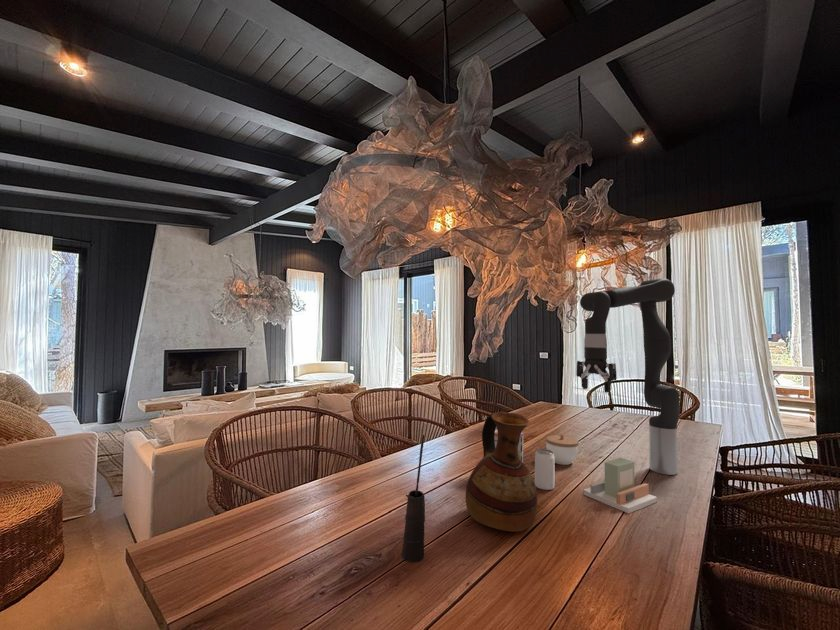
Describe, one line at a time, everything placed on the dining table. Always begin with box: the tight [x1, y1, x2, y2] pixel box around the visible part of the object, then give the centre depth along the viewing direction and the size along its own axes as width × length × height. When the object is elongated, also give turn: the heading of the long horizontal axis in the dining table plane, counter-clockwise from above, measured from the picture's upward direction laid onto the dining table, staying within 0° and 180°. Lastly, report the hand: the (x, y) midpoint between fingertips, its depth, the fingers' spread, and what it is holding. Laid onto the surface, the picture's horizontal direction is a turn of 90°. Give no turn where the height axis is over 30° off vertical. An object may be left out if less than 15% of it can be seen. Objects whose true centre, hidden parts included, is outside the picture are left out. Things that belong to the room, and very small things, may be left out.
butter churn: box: [400, 434, 426, 563], centre depth 88 cm, size 9×10×28 cm
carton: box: [604, 457, 635, 498], centre depth 123 cm, size 4×9×10 cm, turn 121°
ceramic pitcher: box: [465, 411, 538, 533], centre depth 107 cm, size 20×20×30 cm
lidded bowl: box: [545, 433, 579, 466], centre depth 157 cm, size 13×13×11 cm
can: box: [534, 448, 556, 491], centre depth 131 cm, size 6×6×12 cm
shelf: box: [582, 479, 658, 514], centre depth 123 cm, size 16×15×4 cm
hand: (595, 390), depth 139 cm, fingers open, 8 cm apart
